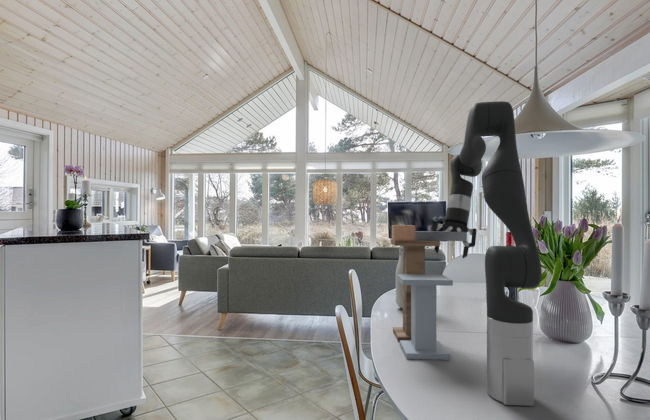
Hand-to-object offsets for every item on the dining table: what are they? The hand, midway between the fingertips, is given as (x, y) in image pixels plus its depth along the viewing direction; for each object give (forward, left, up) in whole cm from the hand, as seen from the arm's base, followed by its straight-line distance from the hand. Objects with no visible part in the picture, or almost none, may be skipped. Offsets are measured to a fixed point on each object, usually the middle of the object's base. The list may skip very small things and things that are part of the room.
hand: (450, 255), depth 124 cm
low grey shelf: (-16, +13, -27) cm, 34 cm away
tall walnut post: (-2, +13, -27) cm, 30 cm away
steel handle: (-2, +8, +5) cm, 9 cm away
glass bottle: (+36, +8, -27) cm, 46 cm away
